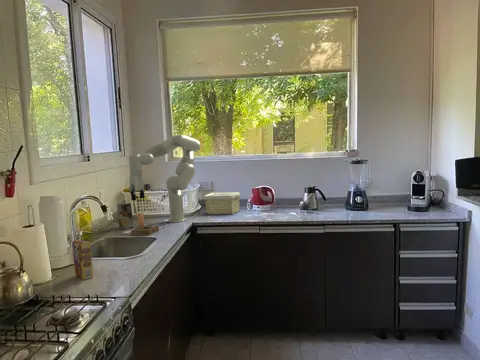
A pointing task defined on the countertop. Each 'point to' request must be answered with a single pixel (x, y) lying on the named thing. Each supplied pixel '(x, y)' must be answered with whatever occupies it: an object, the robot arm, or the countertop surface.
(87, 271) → the candy box
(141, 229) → the hole block
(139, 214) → the peg
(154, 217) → the countertop surface
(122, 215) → the coffee box
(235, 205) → the storage basket
